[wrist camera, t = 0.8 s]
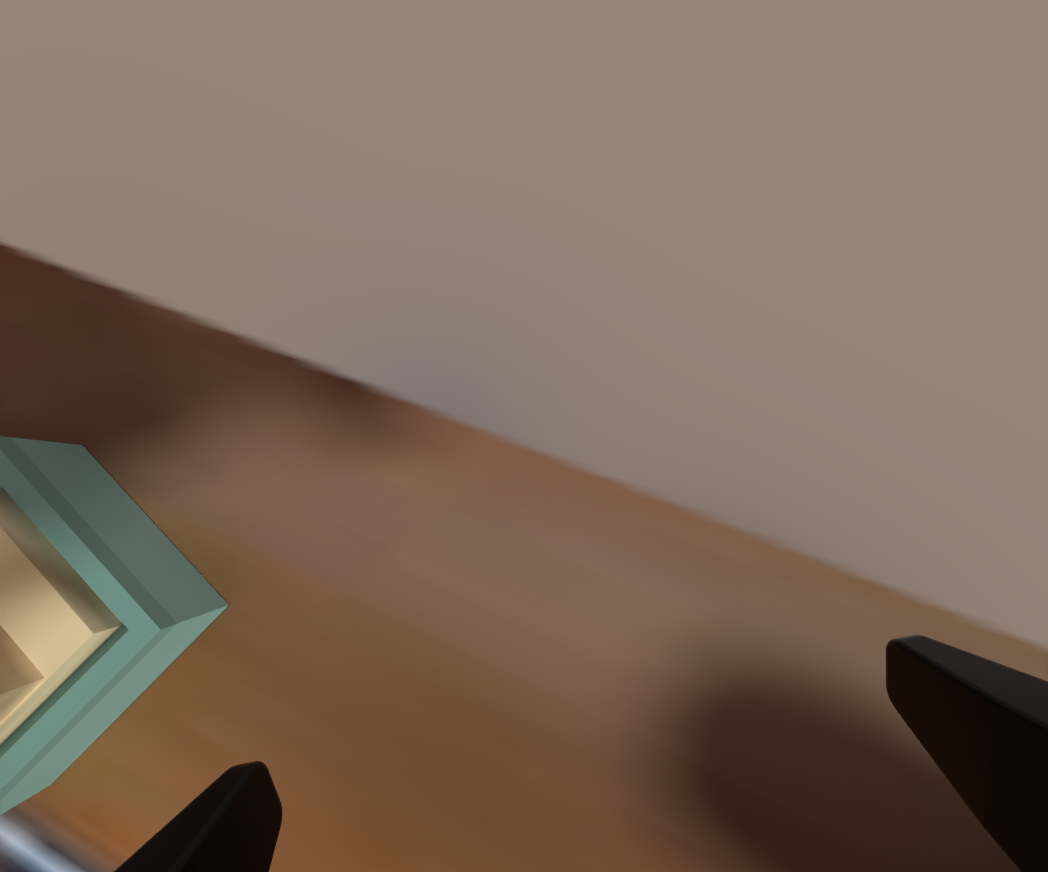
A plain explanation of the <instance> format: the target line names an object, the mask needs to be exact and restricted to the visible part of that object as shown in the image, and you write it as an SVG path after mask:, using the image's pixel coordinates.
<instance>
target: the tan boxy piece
mask: <svg viewBox="0 0 1048 872" xmlns="http://www.w3.org/2000/svg"><path fill="white" fill-rule="evenodd" d="M122 625H123V624H122V623H121V622H120V620H119V619H118V618H117V617H116V616H115V615H114V614H113V612H112V611H111V610H110V609H109V608H108V607H107V606H106V604H105V603H104V602H103V601H102V600H101V599H100V598H99V597H98V595H97V594H96V593H95V592H94V591H93V590H92V589H91V587H90V586H89V585H88V584H87V583H86V582H85V581H84V579H83V578H82V577H81V576H80V575H79V574H78V573H77V572H76V570H75V569H74V568H73V567H72V566H71V565H70V564H69V562H68V561H67V560H66V559H65V558H64V557H63V556H62V555H61V553H60V552H59V551H58V550H57V549H56V548H55V547H54V545H53V544H52V543H51V542H50V541H49V540H48V539H47V537H46V536H45V535H44V534H43V533H42V532H41V531H40V530H39V528H38V527H37V526H36V525H35V524H34V523H33V522H32V520H31V519H30V518H29V517H28V516H27V515H26V514H25V512H24V511H23V510H22V509H21V508H20V507H19V506H18V505H17V503H16V502H15V501H14V500H13V499H12V498H11V497H10V495H9V494H8V493H7V492H6V491H5V490H4V489H3V488H0V746H1V745H2V744H3V743H4V742H5V741H6V740H7V739H8V738H9V737H10V736H11V735H12V734H13V733H14V732H15V731H16V730H17V729H18V728H19V727H20V726H21V725H22V724H23V723H24V722H25V721H26V720H27V719H28V718H29V717H30V716H31V715H32V714H33V713H34V712H36V711H37V710H38V709H39V708H40V707H41V706H42V705H43V704H44V703H45V702H46V701H47V700H48V699H49V698H50V697H51V696H52V695H53V694H54V693H55V692H56V691H57V690H58V689H59V688H60V687H61V686H62V685H63V684H64V683H65V682H66V681H67V680H68V679H69V678H70V677H71V676H72V675H73V674H74V673H75V672H76V671H77V670H78V669H79V668H80V667H81V666H82V665H83V664H84V663H85V662H86V661H87V660H88V659H89V658H90V657H91V656H92V655H93V654H94V653H95V652H96V651H97V650H98V649H99V648H100V647H101V646H102V645H103V644H104V643H105V642H106V641H107V640H108V639H109V638H110V637H111V636H112V635H113V634H114V633H115V632H116V631H117V630H118V629H119V628H120V627H121V626H122Z"/></svg>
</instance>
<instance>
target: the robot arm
mask: <svg viewBox="0 0 1048 872" xmlns="http://www.w3.org/2000/svg"><path fill="white" fill-rule="evenodd" d="M886 688H887V692H888V696H889V698H890V700H891V702H892V704H893V706H894V707H895V709H896V710H897V711H898V713H899V714H900V715H901V717H902V718H903V720H904V721H905V722H906V724H907V725H908V726H909V728H910V729H911V730H912V732H913V733H914V734H915V736H916V737H917V739H918V740H919V741H920V743H921V744H922V745H923V747H924V748H925V749H926V751H927V752H928V753H929V755H930V756H931V757H932V759H933V760H934V762H935V763H936V764H937V766H938V767H939V768H940V770H941V771H942V772H943V774H944V775H945V776H946V778H947V779H948V781H949V782H950V783H951V785H952V786H953V787H954V789H955V790H956V791H957V793H958V794H959V795H960V797H961V798H962V799H963V801H964V802H965V804H966V805H967V806H968V807H969V809H970V810H971V811H972V813H973V814H974V815H975V817H976V818H977V819H978V820H979V822H980V823H981V824H982V826H983V827H984V828H985V829H986V830H987V832H988V833H989V834H990V835H991V836H992V838H993V839H994V840H995V841H996V842H997V844H998V845H999V846H1000V847H1001V848H1002V850H1003V851H1004V852H1005V853H1006V854H1007V855H1008V857H1009V858H1010V859H1011V860H1012V861H1013V862H1014V864H1015V865H1016V866H1017V867H1018V868H1019V869H1020V871H1021V872H1048V681H1045V680H1043V679H1040V678H1037V677H1034V676H1032V675H1029V674H1026V673H1023V672H1021V671H1018V670H1015V669H1012V668H1010V667H1007V666H1004V665H1002V664H999V663H996V662H993V661H991V660H988V659H985V658H982V657H980V656H977V655H974V654H971V653H969V652H966V651H963V650H961V649H958V648H955V647H952V646H950V645H947V644H944V643H941V642H939V641H936V640H933V639H930V638H928V637H925V636H921V635H911V636H906V637H901V638H896V639H892V640H890V641H889V642H888V644H887V646H886ZM281 822H282V805H281V801H280V799H279V796H278V794H277V791H276V789H275V786H274V783H273V781H272V778H271V776H270V773H269V771H268V768H267V766H266V765H265V764H264V763H263V762H260V761H255V762H250V763H245V764H240V765H236V766H233V767H231V768H229V769H228V770H227V771H226V772H224V773H223V774H222V775H221V776H220V777H219V778H218V779H217V780H215V781H214V782H213V783H212V784H211V785H210V786H209V787H208V788H207V789H205V790H204V791H203V792H202V793H201V794H200V795H199V796H198V797H197V798H195V799H194V800H193V801H192V802H191V803H190V804H189V805H188V806H186V807H185V808H184V809H183V810H182V811H181V812H180V813H179V814H178V815H176V816H175V817H174V818H173V819H172V820H171V821H170V822H169V823H168V824H166V825H165V826H164V827H163V828H162V829H161V830H160V831H159V832H157V833H156V834H155V835H154V836H153V837H152V838H151V839H150V840H149V841H147V842H146V843H145V844H144V845H143V846H142V847H141V848H140V849H139V850H137V851H136V852H135V853H134V854H133V855H132V856H131V857H130V858H128V859H127V860H126V861H125V862H124V863H123V864H122V865H121V866H120V867H118V868H117V869H116V870H115V871H114V872H269V869H270V865H271V862H272V858H273V854H274V850H275V846H276V842H277V839H278V835H279V831H280V827H281Z"/></svg>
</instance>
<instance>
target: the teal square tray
mask: <svg viewBox="0 0 1048 872" xmlns="http://www.w3.org/2000/svg"><path fill="white" fill-rule="evenodd" d="M0 488H3V489H4V490H5V491H6V492H7V493H8V494H9V495H10V497H11V498H12V499H13V500H14V501H15V502H16V503H17V505H18V506H19V507H20V508H21V509H22V510H23V511H24V512H25V514H26V515H27V516H28V517H29V518H30V519H31V520H32V522H33V523H34V524H35V525H36V526H37V527H38V528H39V530H40V531H41V532H42V533H43V534H44V535H45V536H46V537H47V539H48V540H49V541H50V542H51V543H52V544H53V545H54V547H55V548H56V549H57V550H58V551H59V552H60V553H61V555H62V556H63V557H64V558H65V559H66V560H67V561H68V562H69V564H70V565H71V566H72V567H73V568H74V569H75V570H76V572H77V573H78V574H79V575H80V576H81V577H82V578H83V579H84V581H85V582H86V583H87V584H88V585H89V586H90V587H91V589H92V590H93V591H94V592H95V593H96V594H97V595H98V597H99V598H100V599H101V600H102V601H103V602H104V603H105V604H106V606H107V607H108V608H109V609H110V610H111V611H112V612H113V614H114V615H115V616H116V617H117V618H118V619H119V620H120V622H121V623H122V624H123V625H122V626H121V627H120V628H119V629H118V630H117V631H116V632H115V633H114V634H113V635H112V636H111V637H110V638H109V639H108V640H107V641H106V642H105V643H104V644H103V645H102V646H101V647H100V648H99V649H98V650H97V651H96V652H95V653H94V654H93V655H92V656H91V657H90V658H89V659H88V660H87V661H86V662H85V663H84V664H83V665H82V666H81V667H80V668H79V669H78V670H77V671H76V672H75V673H74V674H73V675H72V676H71V677H70V678H69V679H68V680H67V681H66V682H65V683H64V684H63V685H62V686H61V687H60V688H59V689H58V690H57V691H56V692H55V693H54V694H53V695H52V696H51V697H50V698H49V699H48V700H47V701H46V702H45V703H44V704H43V705H42V706H41V707H40V708H39V709H38V710H37V711H36V712H34V713H33V714H32V715H31V716H30V717H29V718H28V719H27V720H26V721H25V722H24V723H23V724H22V725H21V726H20V727H19V728H18V729H17V730H16V731H15V732H14V733H13V734H12V735H11V736H10V737H9V738H8V739H7V740H6V741H5V742H4V743H3V744H2V745H1V746H0V815H1V814H3V813H5V812H6V811H8V810H10V809H11V808H13V807H15V806H16V805H18V804H20V803H21V802H23V801H25V800H26V799H28V798H30V797H31V796H33V795H35V794H36V793H38V792H40V791H41V790H43V789H45V788H46V787H48V786H50V785H51V784H52V783H53V782H54V781H55V780H56V779H57V778H58V777H59V776H60V775H61V774H62V773H63V772H64V771H65V770H66V769H67V768H68V767H69V766H70V765H71V764H72V763H73V762H74V761H75V760H76V759H77V758H78V757H79V756H80V755H81V754H82V753H83V752H84V751H85V750H86V749H87V748H88V747H89V746H90V745H91V744H92V743H93V742H94V741H95V740H96V739H97V738H98V737H99V736H100V735H101V734H102V733H103V732H104V731H105V730H106V729H107V728H108V727H109V726H110V725H111V724H112V723H113V722H114V721H115V720H116V719H117V718H118V717H119V716H120V715H121V714H122V713H123V712H124V710H125V709H126V708H127V707H128V706H129V705H130V704H131V703H132V702H133V701H134V700H135V699H136V698H137V697H138V696H139V695H140V694H141V693H142V692H143V691H144V690H145V689H146V688H147V687H148V686H149V685H150V684H151V683H152V682H153V681H154V680H155V679H156V678H157V677H158V676H159V675H160V674H161V673H162V672H163V671H164V670H165V669H166V668H167V667H168V666H169V665H170V664H171V663H172V662H173V661H174V660H175V659H176V658H177V657H178V656H179V655H180V654H181V653H182V652H183V651H184V650H185V649H186V648H187V647H188V646H189V645H190V644H191V643H192V642H193V641H194V640H195V639H196V638H197V637H198V636H199V635H200V634H201V633H202V632H203V631H204V630H205V629H206V628H207V627H208V626H209V625H210V624H211V623H212V622H213V621H214V620H215V619H216V618H217V617H218V616H219V615H220V614H221V613H222V612H223V611H224V610H225V609H226V608H227V606H228V604H227V602H226V601H225V600H224V599H223V598H222V597H221V596H220V595H219V594H218V593H217V592H216V590H215V589H214V588H213V587H212V586H211V585H210V584H209V583H208V582H207V581H206V580H205V578H204V577H203V576H202V575H201V574H200V573H199V572H198V571H197V570H196V569H195V568H194V566H193V565H192V564H191V563H190V562H189V561H188V560H187V559H186V558H185V557H184V556H183V554H182V553H181V552H180V551H179V550H178V549H177V548H176V547H175V546H174V545H173V544H172V542H171V541H170V540H169V539H168V538H167V537H166V536H165V535H164V534H163V533H162V532H161V530H160V529H159V528H158V527H157V526H156V525H155V524H154V523H153V522H152V521H151V520H150V518H149V517H148V516H147V515H146V514H145V513H144V512H143V511H142V510H141V509H140V508H139V506H138V505H137V504H136V503H135V502H134V501H133V500H132V499H131V498H130V497H129V496H128V494H127V493H126V492H125V491H124V490H123V489H122V488H121V487H120V486H119V485H118V484H117V482H116V481H115V480H114V479H113V478H112V477H111V476H110V475H109V474H108V473H107V471H106V470H105V469H104V468H103V467H102V466H101V465H100V464H99V463H98V462H97V461H96V459H95V458H94V457H93V456H92V455H91V454H90V453H89V452H88V451H87V450H86V449H85V447H84V446H83V445H77V444H68V443H59V442H50V441H41V440H32V439H22V438H13V437H4V436H0Z"/></svg>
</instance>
